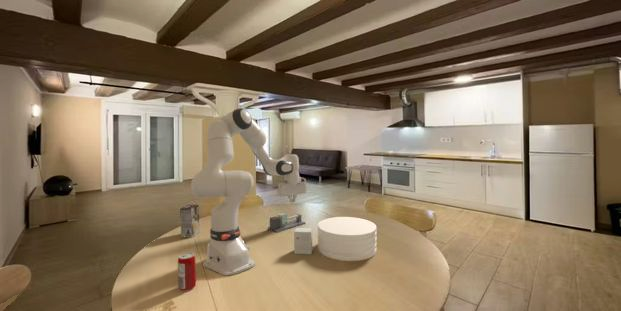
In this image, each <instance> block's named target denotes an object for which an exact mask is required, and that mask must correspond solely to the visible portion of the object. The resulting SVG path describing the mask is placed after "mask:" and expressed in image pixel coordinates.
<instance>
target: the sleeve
mask: <svg viewBox="0 0 621 311" xmlns="http://www.w3.org/2000/svg"><path fill="white" fill-rule="evenodd" d="M277 217H279V218H280V219H281V224H280V225H285V224H287V222H288V220H287V218H288V214H286V213H283V212H282V213H279V214H277Z"/></svg>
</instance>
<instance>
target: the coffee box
mask: <svg viewBox="0 0 621 311" xmlns="http://www.w3.org/2000/svg"><path fill="white" fill-rule="evenodd" d="M179 210H180V211H179V213H180V237H181V236H185V237H192V238H193V236H194V235H195V236H196V235H197V234H199V233H200V232H201V231H200V230H201V229H200V214H199V213H200V208H199V204H187V205H185V206H183V207H181V208H179ZM199 231H200V232H199ZM198 232H199V233H198ZM195 236H194V237H195Z"/></svg>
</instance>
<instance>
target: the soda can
mask: <svg viewBox="0 0 621 311" xmlns="http://www.w3.org/2000/svg"><path fill="white" fill-rule="evenodd" d="M177 275H178V276H177V277H178V278H177V279H178V282H177V283H178V285H177V286H178V290H179V291H181V292H189V291H192V290H193V289H194V288H195V287H196V285H197V283H196V282H197V278H196V277H197V275H196V256H195V253H194V252H184V253H181V254H180V255H178V259H177Z"/></svg>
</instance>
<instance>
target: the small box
mask: <svg viewBox="0 0 621 311" xmlns="http://www.w3.org/2000/svg"><path fill="white" fill-rule="evenodd" d="M293 233H294V234H293V238H294V239H293V241H294V244H293V246H294V248H293V250H294V255H312V254H313V253H312V252H313V227H312V228H310V227H309V228H308V227H295V229H294V232H293Z"/></svg>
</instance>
